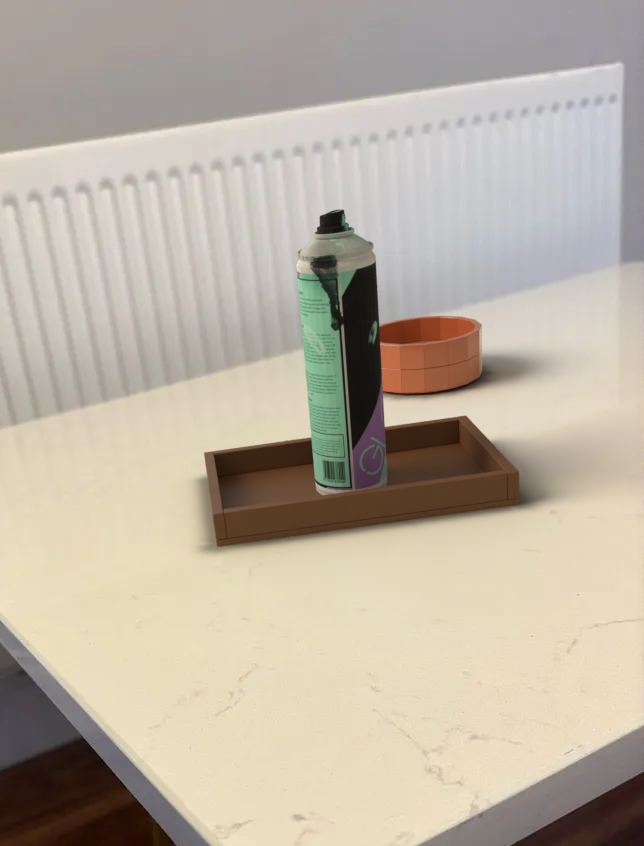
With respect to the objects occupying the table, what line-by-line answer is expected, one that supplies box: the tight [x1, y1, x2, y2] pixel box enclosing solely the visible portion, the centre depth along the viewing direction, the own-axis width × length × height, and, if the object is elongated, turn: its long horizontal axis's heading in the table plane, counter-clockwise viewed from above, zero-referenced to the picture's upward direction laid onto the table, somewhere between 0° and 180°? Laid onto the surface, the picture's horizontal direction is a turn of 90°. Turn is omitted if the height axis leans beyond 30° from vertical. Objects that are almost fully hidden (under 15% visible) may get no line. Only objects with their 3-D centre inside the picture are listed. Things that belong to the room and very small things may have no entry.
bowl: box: [379, 315, 483, 395], centre depth 102 cm, size 11×11×5 cm
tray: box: [203, 415, 520, 547], centre depth 78 cm, size 22×14×3 cm, turn 92°
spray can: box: [295, 209, 387, 495], centre depth 74 cm, size 6×6×20 cm
